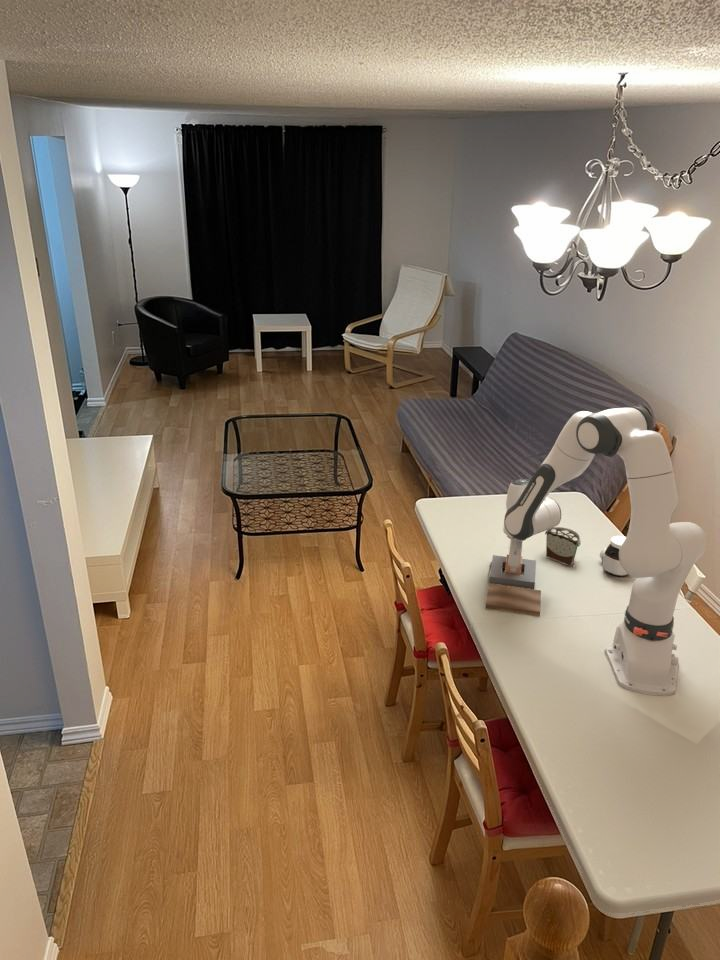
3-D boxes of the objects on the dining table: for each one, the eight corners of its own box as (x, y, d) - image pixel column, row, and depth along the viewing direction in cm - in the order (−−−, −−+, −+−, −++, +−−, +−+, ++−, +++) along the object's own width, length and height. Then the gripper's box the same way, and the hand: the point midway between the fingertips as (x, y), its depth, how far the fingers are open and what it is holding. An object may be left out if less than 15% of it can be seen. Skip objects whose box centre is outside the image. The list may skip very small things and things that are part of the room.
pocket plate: (534, 589, 230) (535, 582, 229) (489, 583, 233) (489, 576, 232) (535, 567, 242) (536, 560, 241) (492, 561, 245) (492, 555, 244)
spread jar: (618, 582, 235) (624, 550, 230) (587, 568, 242) (592, 537, 238) (638, 569, 242) (644, 538, 237) (607, 556, 250) (613, 525, 245)
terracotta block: (520, 580, 235) (522, 564, 233) (504, 578, 236) (505, 561, 234) (520, 572, 239) (522, 556, 237) (505, 570, 240) (506, 554, 238)
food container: (584, 561, 246) (588, 534, 242) (575, 568, 242) (579, 541, 238) (551, 548, 254) (554, 522, 250) (542, 555, 250) (545, 528, 246)
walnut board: (539, 616, 217) (540, 611, 216) (485, 608, 220) (485, 604, 219) (540, 594, 227) (541, 590, 227) (488, 587, 231) (488, 583, 230)
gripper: (527, 544, 221) (522, 583, 226) (529, 514, 239) (524, 551, 245) (505, 541, 222) (501, 580, 228) (509, 512, 240) (505, 549, 246)
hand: (513, 565), depth 236 cm, fingers closed on terracotta block, 5 cm apart
